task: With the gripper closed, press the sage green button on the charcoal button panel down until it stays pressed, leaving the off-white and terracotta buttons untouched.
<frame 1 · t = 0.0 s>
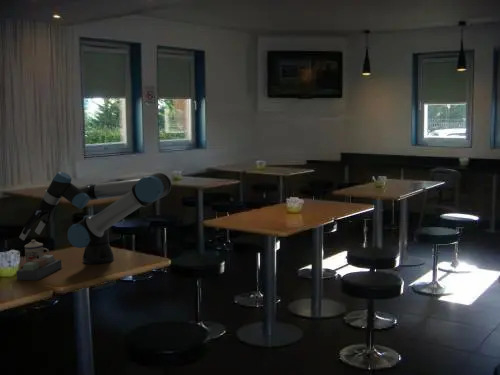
hand: (29, 235, 308), 15 cm above the table, tool tilted 35°, fingers open, 13 cm apart
button panel: (40, 273, 296), on the table
white button: (47, 260, 302), point 5 cm above the table, slide at 0.0 cm
green button: (31, 267, 288), point 5 cm above the table, slide at 0.0 cm
terracotta button: (39, 263, 295), point 5 cm above the table, slide at 0.0 cm
teacup with lid: (38, 263, 318), on the table
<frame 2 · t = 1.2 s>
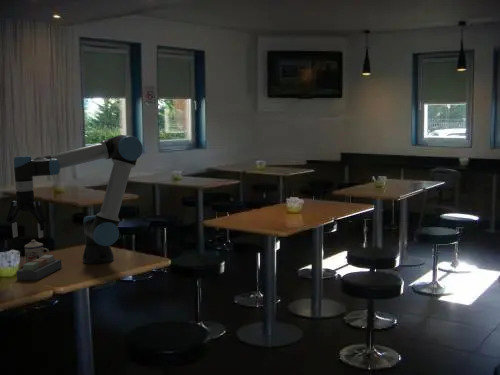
hand: (28, 237, 287), 19 cm above the table, tool pointing down, fingers open, 12 cm apart
nothing on the table moved.
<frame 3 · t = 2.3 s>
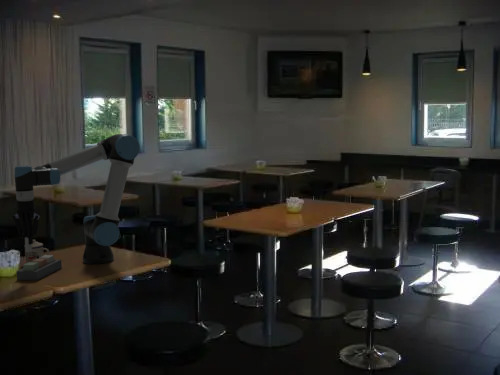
hand: (28, 251, 287), 12 cm above the table, tool pointing down, fingers closed
nothing on the table moved.
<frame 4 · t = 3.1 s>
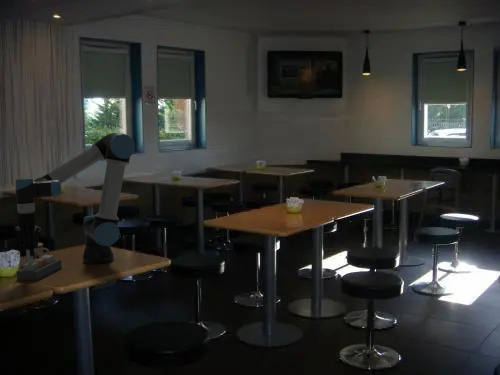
hand: (30, 263, 288), 7 cm above the table, tool pointing down, fingers closed
green button: (31, 267, 288), point 5 cm above the table, slide at 0.0 cm, touching gripper
everything else where it was.
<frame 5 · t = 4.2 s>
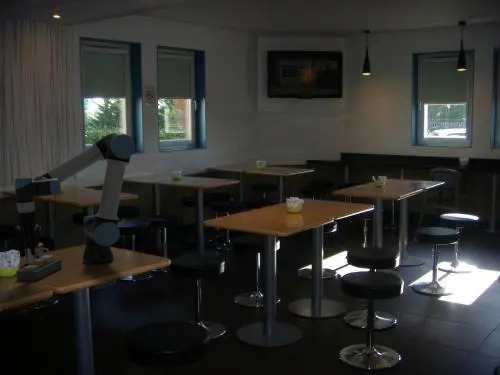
hand: (31, 262, 288), 7 cm above the table, tool pointing down, fingers closed
green button: (31, 270, 288), point 3 cm above the table, slide at 1.4 cm
everything else where it was.
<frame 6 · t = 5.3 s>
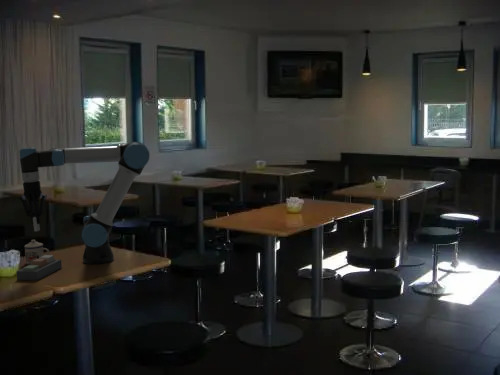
hand: (37, 230, 297), 20 cm above the table, tool pointing down, fingers closed
nothing on the table moved.
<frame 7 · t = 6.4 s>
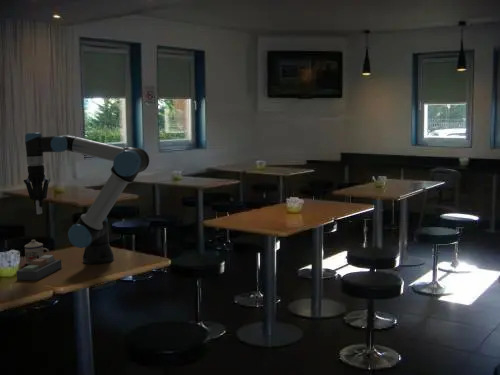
hand: (39, 213, 305), 26 cm above the table, tool pointing down, fingers closed
nothing on the table moved.
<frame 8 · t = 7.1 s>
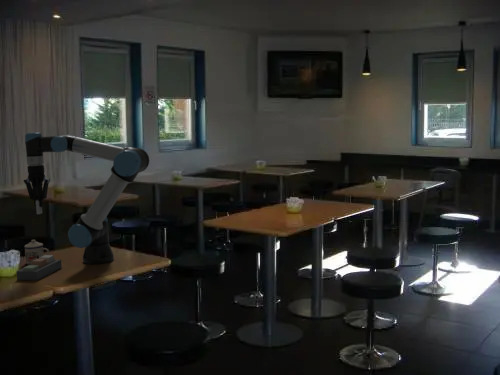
hand: (39, 213, 305), 26 cm above the table, tool pointing down, fingers closed
nothing on the table moved.
at the end: green button slide at 1.4 cm; terracotta button slide at 0.0 cm; white button slide at 0.0 cm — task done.
